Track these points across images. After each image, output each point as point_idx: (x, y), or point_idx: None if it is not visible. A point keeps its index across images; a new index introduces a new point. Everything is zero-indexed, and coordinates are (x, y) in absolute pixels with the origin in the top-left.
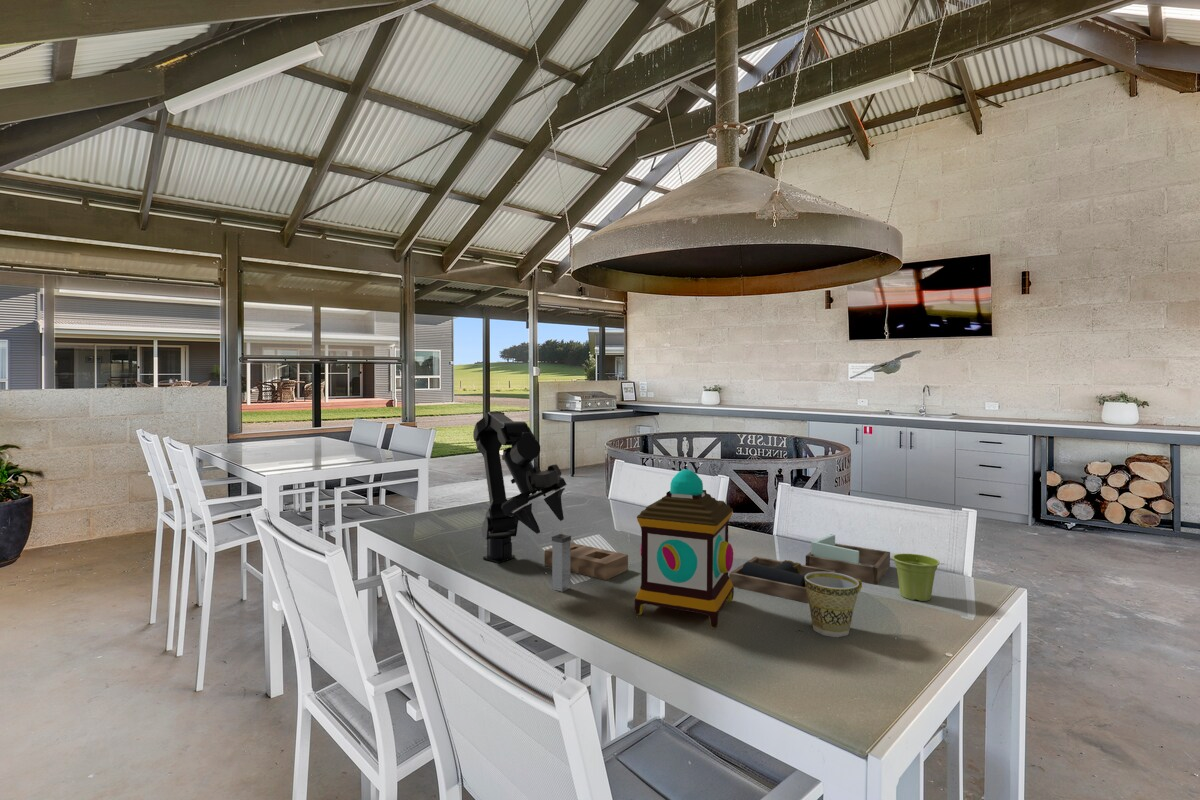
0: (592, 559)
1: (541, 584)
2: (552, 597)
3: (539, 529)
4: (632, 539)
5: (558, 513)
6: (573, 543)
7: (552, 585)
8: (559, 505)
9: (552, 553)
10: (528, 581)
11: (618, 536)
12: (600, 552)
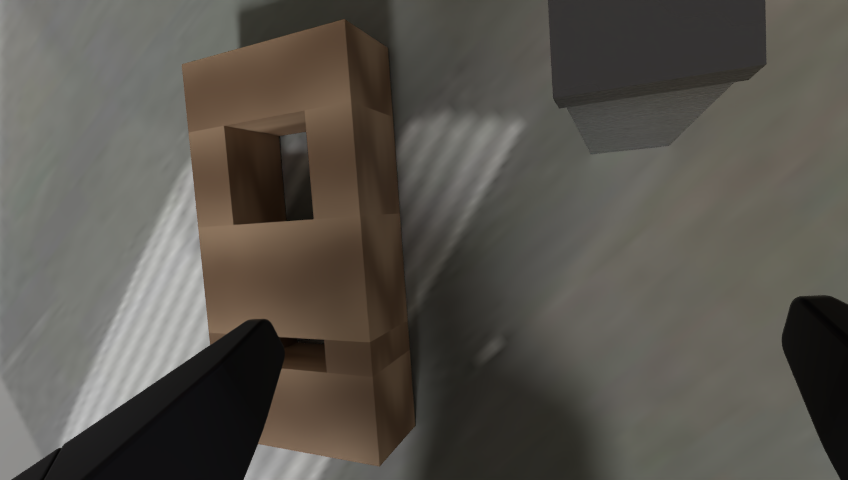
0: (332, 137)
1: (646, 249)
2: (786, 39)
3: (825, 312)
4: (30, 319)
5: (225, 411)
6: None
7: (670, 142)
8: (88, 465)
9: (709, 104)
10: (657, 341)
11: (35, 381)
12: (232, 195)
